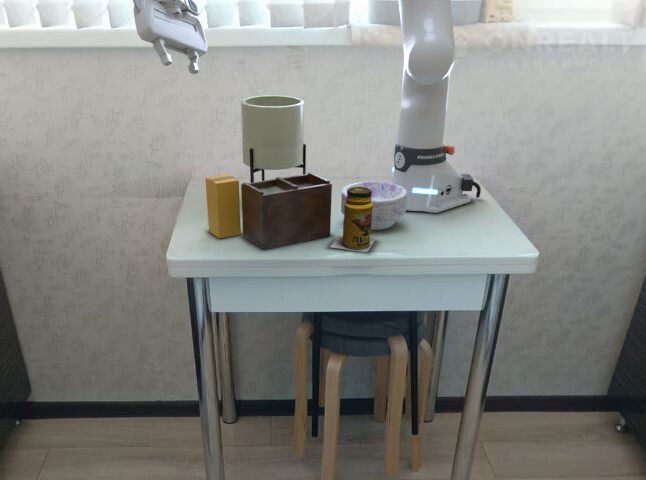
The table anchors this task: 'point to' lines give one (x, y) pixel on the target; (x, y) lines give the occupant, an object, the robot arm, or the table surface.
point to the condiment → (356, 221)
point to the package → (223, 205)
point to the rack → (286, 210)
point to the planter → (273, 133)
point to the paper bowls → (382, 202)
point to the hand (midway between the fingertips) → (181, 68)
